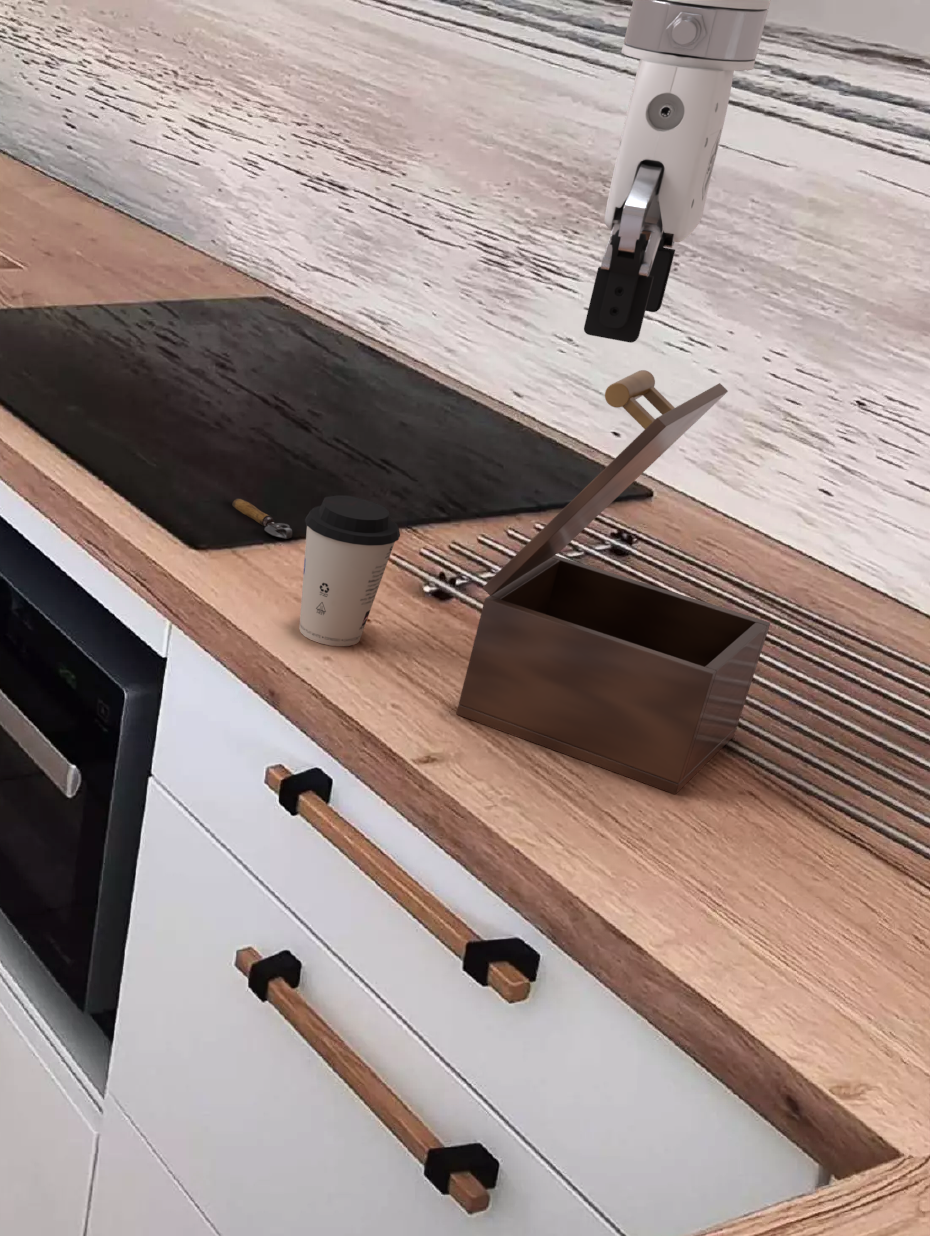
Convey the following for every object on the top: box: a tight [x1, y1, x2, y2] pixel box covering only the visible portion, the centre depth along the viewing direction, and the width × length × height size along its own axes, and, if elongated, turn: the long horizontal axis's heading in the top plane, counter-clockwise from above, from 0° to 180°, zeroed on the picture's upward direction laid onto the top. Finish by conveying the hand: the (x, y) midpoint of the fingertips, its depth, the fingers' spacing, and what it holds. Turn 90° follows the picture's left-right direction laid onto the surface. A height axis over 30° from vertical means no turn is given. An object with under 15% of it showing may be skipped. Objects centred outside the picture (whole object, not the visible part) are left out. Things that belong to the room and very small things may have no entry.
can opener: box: [231, 497, 293, 540], centre depth 169 cm, size 9×2×1 cm, turn 17°
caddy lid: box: [482, 369, 729, 596], centre depth 134 cm, size 16×13×5 cm
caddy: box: [456, 554, 771, 795], centre depth 137 cm, size 16×13×9 cm
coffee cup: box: [298, 495, 401, 647], centre depth 147 cm, size 7×7×10 cm
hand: (622, 322), depth 125 cm, fingers open, 9 cm apart
